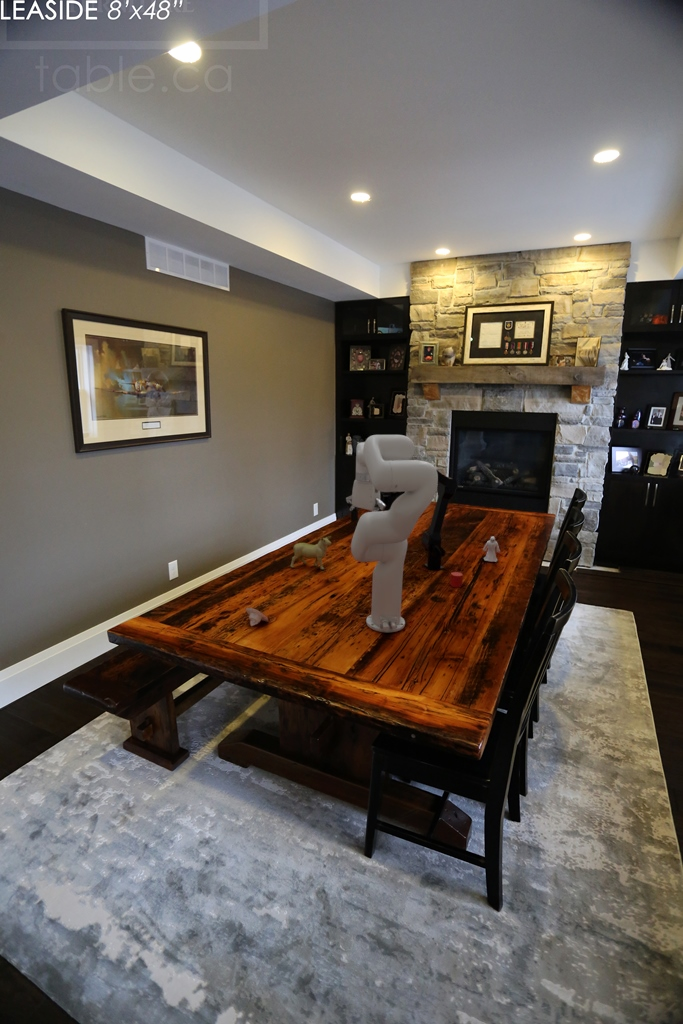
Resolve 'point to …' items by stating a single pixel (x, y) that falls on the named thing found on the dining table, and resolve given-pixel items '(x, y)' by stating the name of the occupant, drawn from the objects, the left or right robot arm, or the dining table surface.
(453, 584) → the can
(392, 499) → the right robot arm
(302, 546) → the toy
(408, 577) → the dining table surface
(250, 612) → the seashell
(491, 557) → the figurine
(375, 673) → the dining table surface
